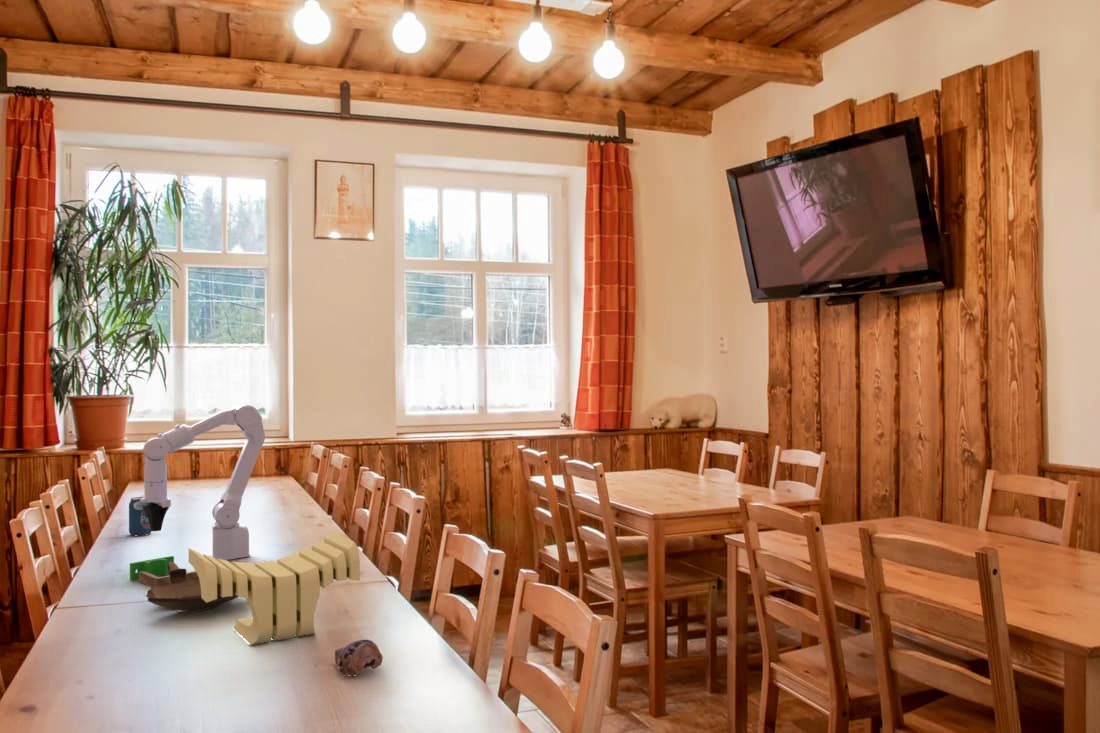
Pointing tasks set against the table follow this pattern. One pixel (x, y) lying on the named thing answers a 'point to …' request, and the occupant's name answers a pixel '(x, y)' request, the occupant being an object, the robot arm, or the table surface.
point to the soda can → (138, 517)
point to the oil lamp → (183, 593)
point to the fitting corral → (162, 579)
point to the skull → (357, 657)
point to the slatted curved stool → (279, 586)
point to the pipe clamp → (151, 567)
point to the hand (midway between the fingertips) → (156, 530)
